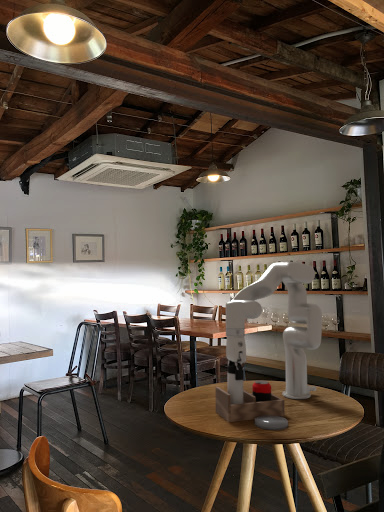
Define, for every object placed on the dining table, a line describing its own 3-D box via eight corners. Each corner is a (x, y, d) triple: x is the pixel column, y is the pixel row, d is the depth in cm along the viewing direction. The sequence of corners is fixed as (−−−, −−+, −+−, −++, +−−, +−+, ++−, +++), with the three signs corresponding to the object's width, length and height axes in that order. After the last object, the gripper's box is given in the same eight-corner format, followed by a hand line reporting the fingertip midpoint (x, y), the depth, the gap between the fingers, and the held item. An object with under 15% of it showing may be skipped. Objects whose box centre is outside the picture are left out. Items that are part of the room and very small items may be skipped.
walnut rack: (268, 406, 182) (268, 382, 182) (284, 415, 170) (284, 389, 170) (215, 411, 174) (215, 386, 175) (228, 422, 162) (228, 395, 163)
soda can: (248, 412, 174) (248, 382, 174) (259, 408, 179) (259, 379, 180) (264, 416, 168) (264, 385, 169) (275, 412, 174) (274, 382, 175)
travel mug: (233, 418, 166) (233, 366, 167) (224, 414, 172) (224, 363, 173) (247, 416, 169) (246, 364, 170) (237, 411, 175) (237, 361, 176)
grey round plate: (277, 417, 167) (277, 413, 167) (294, 427, 156) (294, 423, 156) (249, 421, 163) (249, 417, 163) (264, 431, 152) (264, 427, 152)
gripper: (253, 334, 165) (253, 382, 164) (234, 329, 181) (235, 372, 180) (235, 335, 163) (235, 383, 162) (218, 330, 179) (218, 374, 178)
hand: (235, 377), depth 171 cm, fingers closed on travel mug, 6 cm apart
